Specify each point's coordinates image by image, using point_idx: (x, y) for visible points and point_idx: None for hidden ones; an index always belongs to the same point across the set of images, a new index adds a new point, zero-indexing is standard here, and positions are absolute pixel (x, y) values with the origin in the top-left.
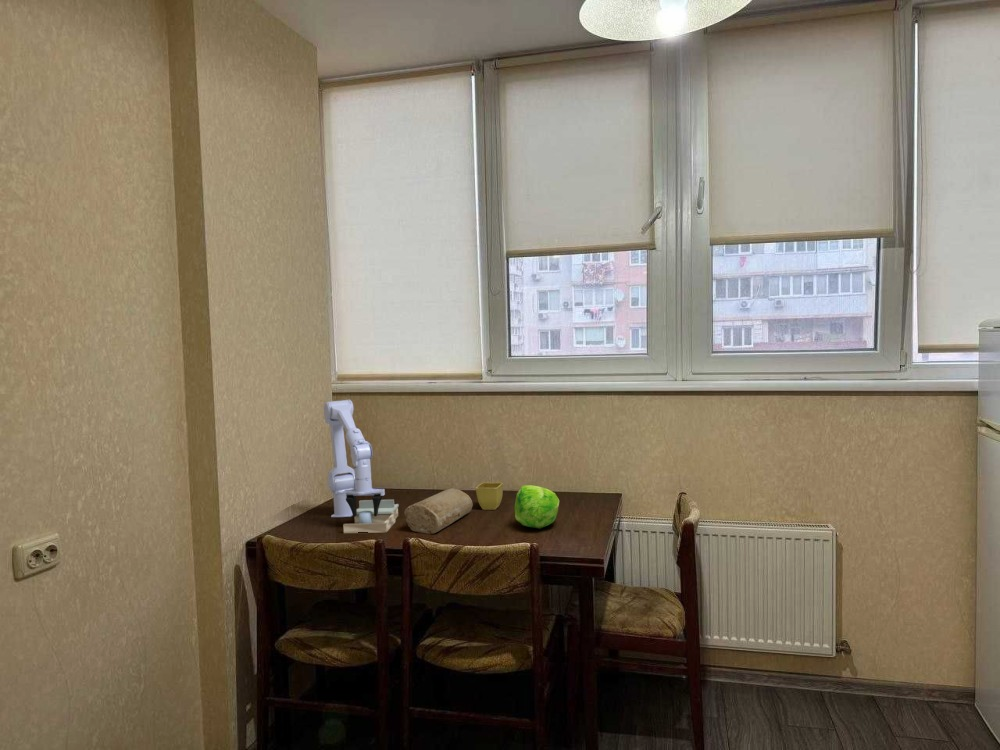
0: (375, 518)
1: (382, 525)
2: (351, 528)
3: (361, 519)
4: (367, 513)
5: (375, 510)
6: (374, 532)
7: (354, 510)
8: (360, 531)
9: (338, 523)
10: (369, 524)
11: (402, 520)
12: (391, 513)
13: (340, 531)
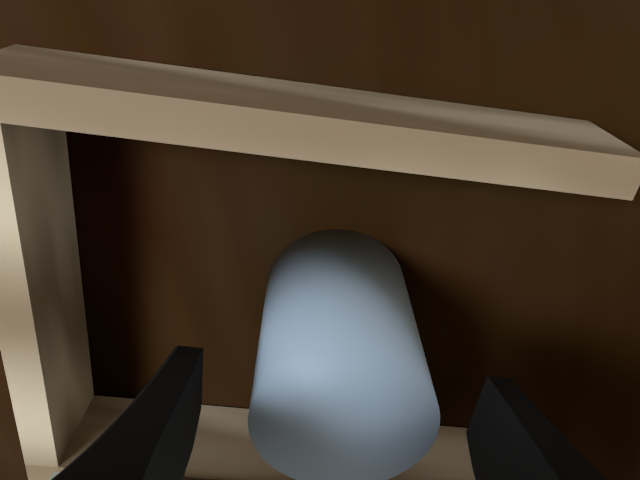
0: None
1: (12, 68)
2: (506, 125)
3: (386, 306)
4: (293, 367)
5: (145, 399)
6: (182, 67)
7: (518, 456)
8: (373, 95)
9: (619, 446)
10: (228, 105)
11: (14, 431)
12: (55, 472)
13: (622, 206)
